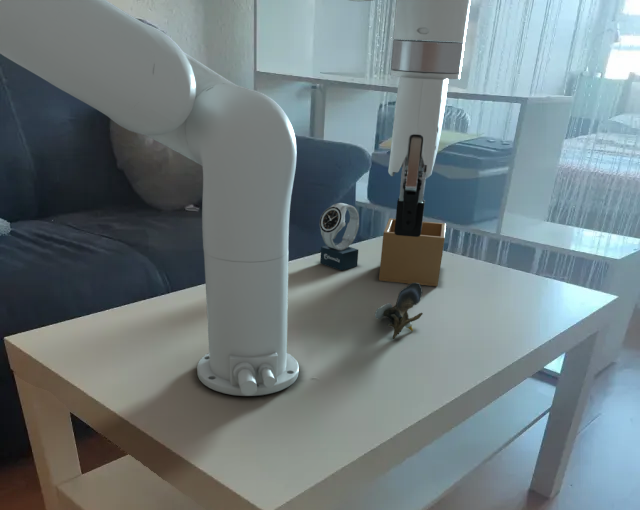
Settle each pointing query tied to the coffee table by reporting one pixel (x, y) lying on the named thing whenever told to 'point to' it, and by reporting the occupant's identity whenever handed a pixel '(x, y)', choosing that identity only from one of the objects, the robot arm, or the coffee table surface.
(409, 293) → the eagle figurine
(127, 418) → the coffee table surface
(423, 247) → the box
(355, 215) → the watch
